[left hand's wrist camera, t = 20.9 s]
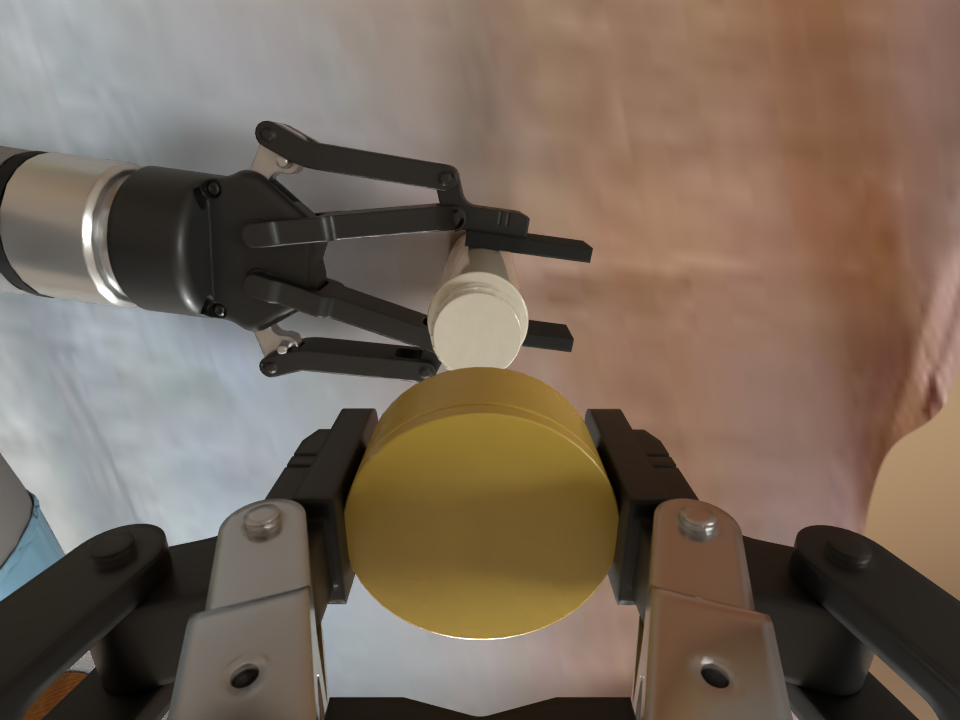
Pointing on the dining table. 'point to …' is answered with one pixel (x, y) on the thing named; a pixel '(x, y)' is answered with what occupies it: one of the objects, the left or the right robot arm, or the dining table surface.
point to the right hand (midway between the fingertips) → (576, 295)
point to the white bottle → (477, 309)
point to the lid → (481, 506)
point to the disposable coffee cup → (53, 695)
